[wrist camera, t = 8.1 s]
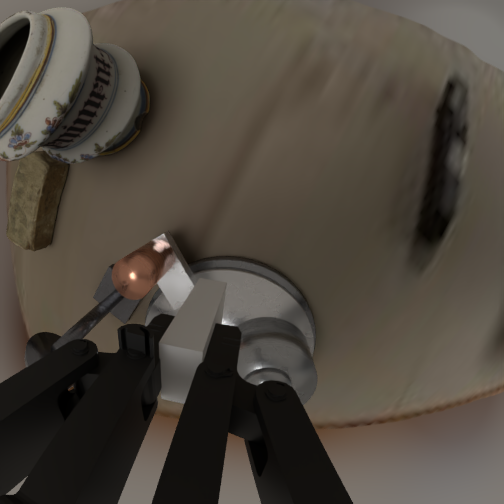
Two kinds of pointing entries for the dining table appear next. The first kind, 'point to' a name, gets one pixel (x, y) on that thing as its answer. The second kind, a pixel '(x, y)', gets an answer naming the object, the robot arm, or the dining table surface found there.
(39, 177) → the stone block
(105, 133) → the apothecary jar
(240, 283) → the turntable
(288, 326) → the cover
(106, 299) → the dial gauge stand
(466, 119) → the dining table surface
